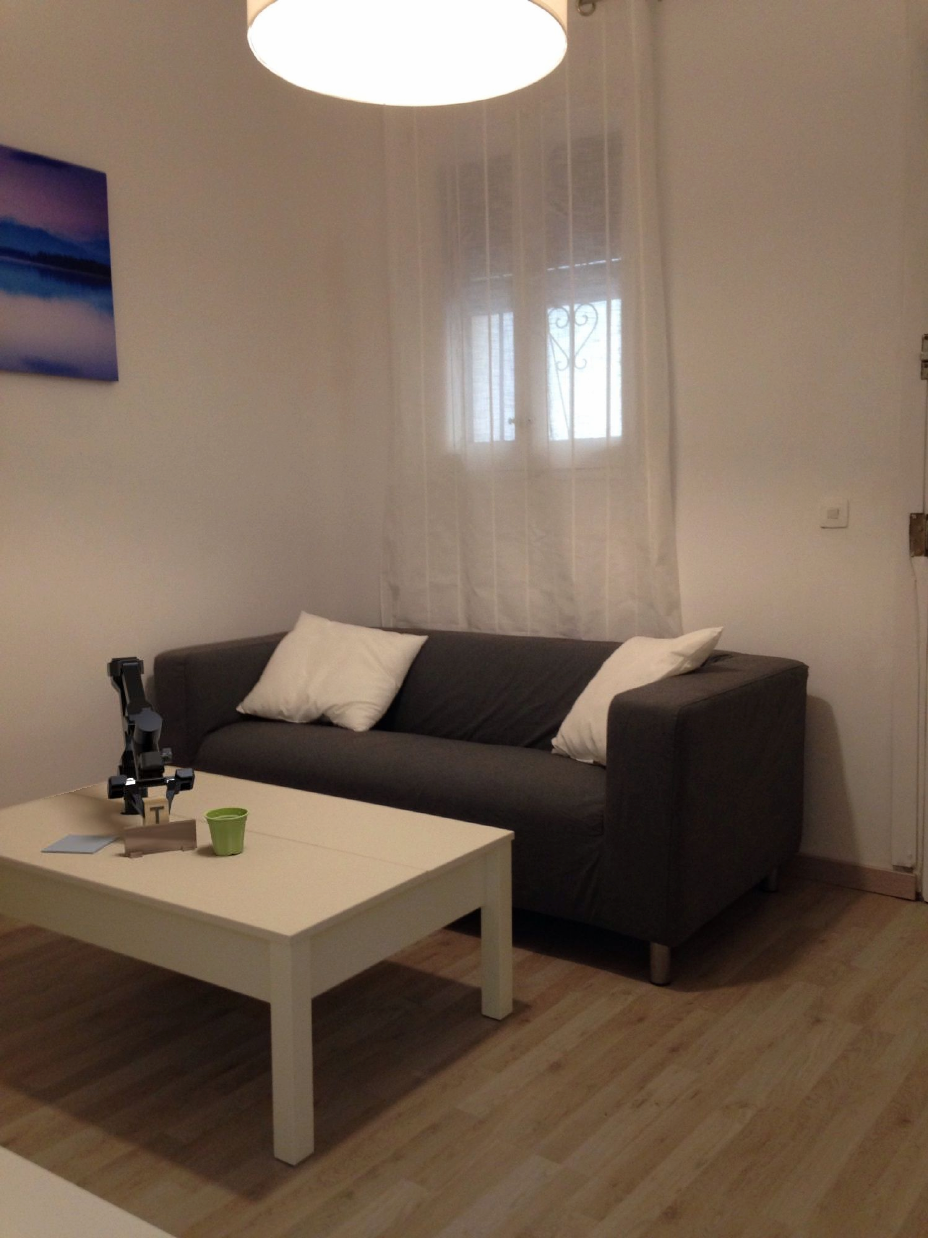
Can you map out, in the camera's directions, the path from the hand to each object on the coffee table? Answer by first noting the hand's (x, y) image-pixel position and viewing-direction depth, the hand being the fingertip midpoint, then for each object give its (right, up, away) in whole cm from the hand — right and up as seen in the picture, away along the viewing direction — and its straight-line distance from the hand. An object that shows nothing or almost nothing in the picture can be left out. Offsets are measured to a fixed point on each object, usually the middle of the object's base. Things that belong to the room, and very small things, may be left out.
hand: (156, 815), depth 246 cm
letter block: (0, -6, +2) cm, 7 cm away
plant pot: (+17, -7, -5) cm, 19 cm away
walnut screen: (+2, -7, -4) cm, 8 cm away
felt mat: (-17, -7, +2) cm, 19 cm away
